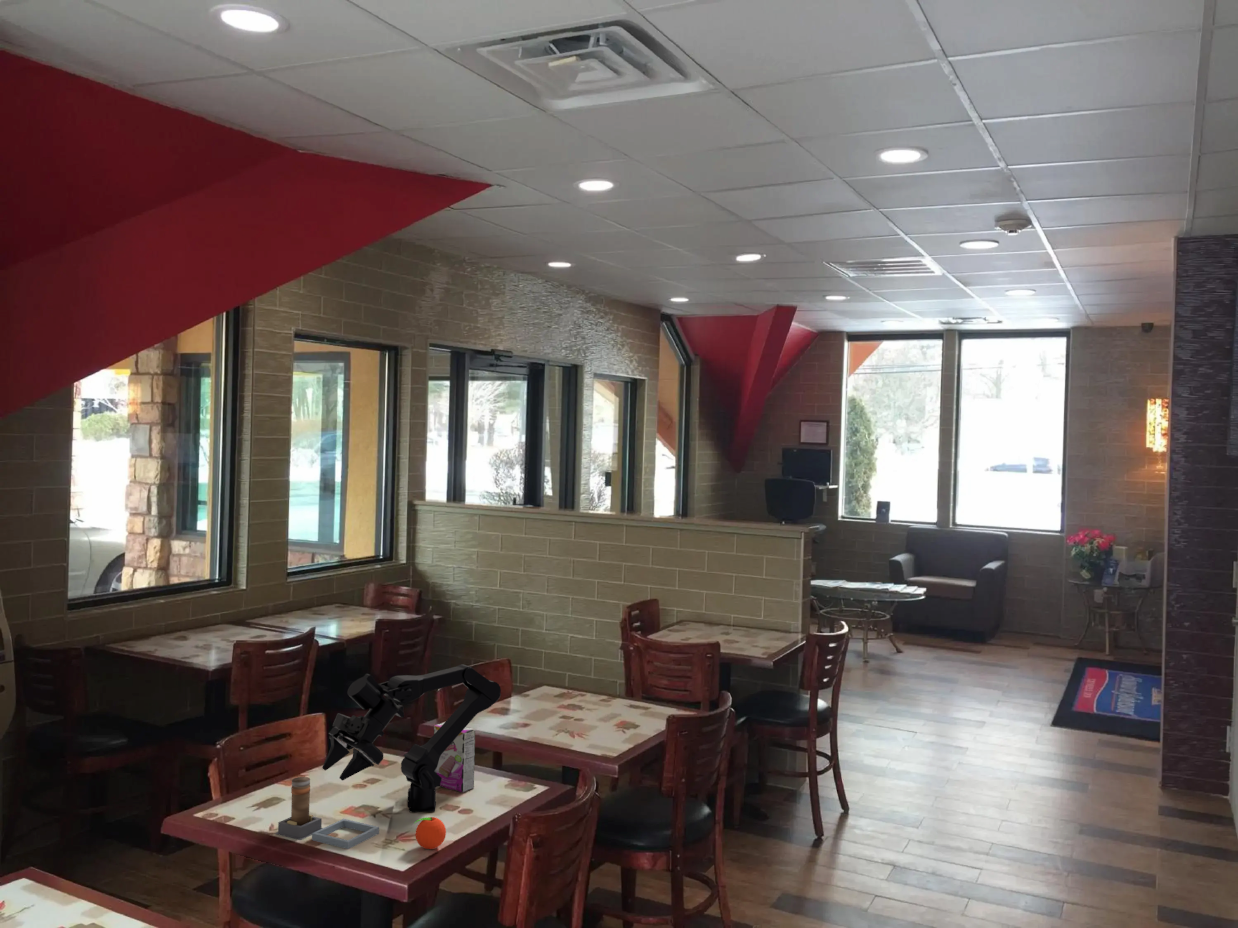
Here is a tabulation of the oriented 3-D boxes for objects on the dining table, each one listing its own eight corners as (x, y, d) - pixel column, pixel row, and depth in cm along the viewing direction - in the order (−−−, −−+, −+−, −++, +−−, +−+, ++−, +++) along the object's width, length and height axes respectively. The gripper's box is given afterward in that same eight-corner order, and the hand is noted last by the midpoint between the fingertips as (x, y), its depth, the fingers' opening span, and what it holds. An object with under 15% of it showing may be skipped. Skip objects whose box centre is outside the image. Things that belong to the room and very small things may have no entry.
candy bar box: (431, 785, 274) (432, 724, 274) (443, 780, 279) (445, 721, 278) (462, 793, 268) (464, 732, 268) (474, 788, 273) (476, 727, 272)
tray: (343, 830, 240) (343, 818, 240) (378, 839, 235) (379, 826, 235) (311, 846, 230) (312, 833, 230) (348, 855, 226) (348, 841, 226)
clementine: (407, 853, 228) (408, 822, 228) (413, 841, 235) (414, 811, 235) (442, 854, 228) (443, 823, 228) (448, 842, 235) (448, 812, 235)
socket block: (299, 828, 241) (299, 809, 241) (324, 834, 237) (325, 815, 237) (274, 839, 234) (274, 820, 234) (300, 846, 230) (300, 826, 230)
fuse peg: (310, 827, 238) (311, 776, 238) (307, 833, 234) (308, 782, 234) (292, 827, 237) (293, 776, 237) (288, 834, 233) (289, 782, 233)
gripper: (337, 693, 251) (293, 745, 244) (372, 708, 237) (327, 764, 230) (365, 719, 256) (323, 771, 249) (402, 736, 242) (358, 791, 235)
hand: (332, 774), depth 240 cm, fingers open, 9 cm apart
